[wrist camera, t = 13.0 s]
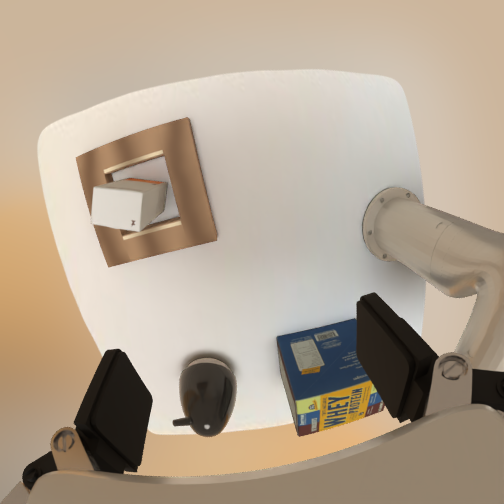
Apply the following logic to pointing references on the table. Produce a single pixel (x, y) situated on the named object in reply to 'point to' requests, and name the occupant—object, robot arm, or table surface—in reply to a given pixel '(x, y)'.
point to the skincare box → (128, 203)
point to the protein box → (325, 378)
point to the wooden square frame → (183, 183)
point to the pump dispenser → (207, 396)
